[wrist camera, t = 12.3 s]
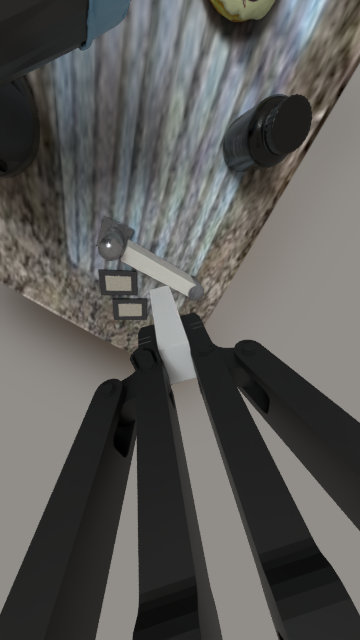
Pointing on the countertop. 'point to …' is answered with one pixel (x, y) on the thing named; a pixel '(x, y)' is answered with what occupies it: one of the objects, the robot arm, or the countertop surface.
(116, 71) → the countertop surface
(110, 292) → the label plate
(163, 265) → the swing bar
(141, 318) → the label plate
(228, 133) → the supplement bottle
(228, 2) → the decorated donut
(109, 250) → the pivot post
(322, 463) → the robot arm
